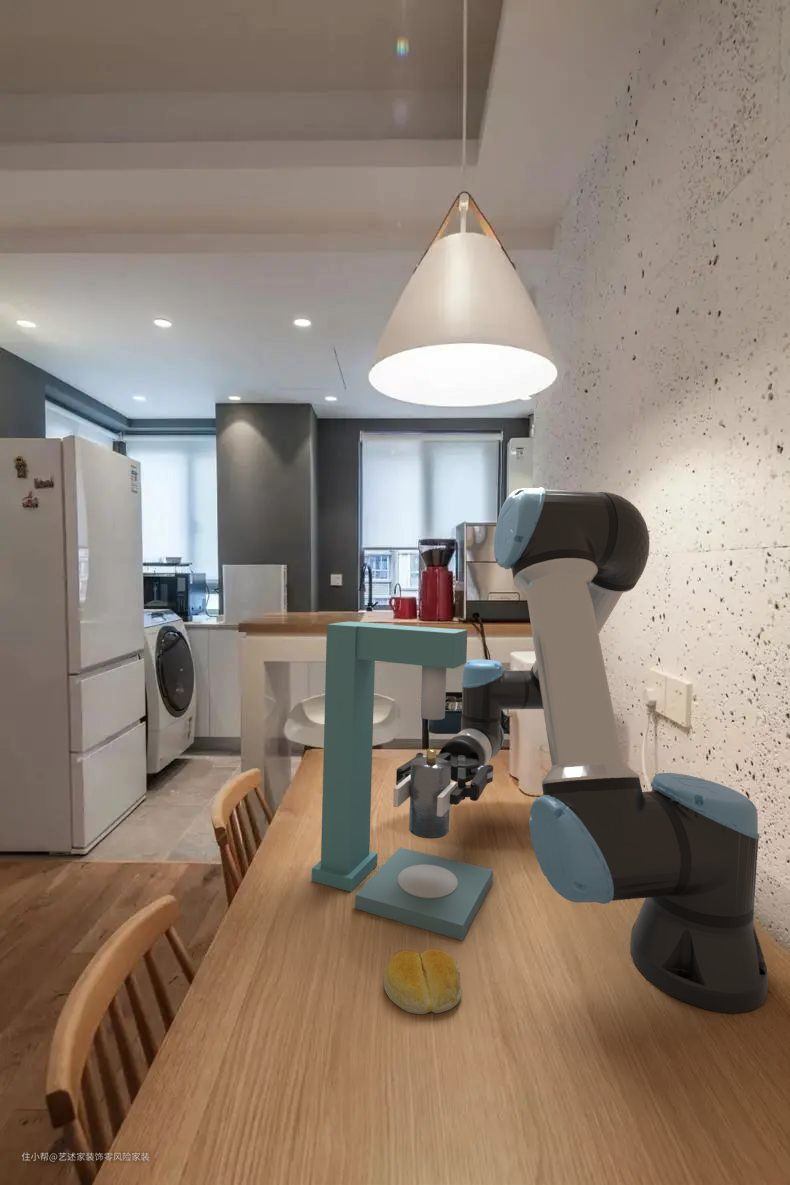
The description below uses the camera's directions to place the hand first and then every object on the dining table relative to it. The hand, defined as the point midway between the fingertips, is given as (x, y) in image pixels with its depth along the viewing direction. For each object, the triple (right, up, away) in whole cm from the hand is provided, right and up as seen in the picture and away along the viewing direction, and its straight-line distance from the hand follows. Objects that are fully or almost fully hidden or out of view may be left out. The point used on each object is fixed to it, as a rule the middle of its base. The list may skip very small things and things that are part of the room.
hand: (417, 802), depth 81 cm
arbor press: (-3, -16, +7) cm, 17 cm away
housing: (+2, -6, +5) cm, 8 cm away
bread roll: (0, -17, -14) cm, 22 cm away
